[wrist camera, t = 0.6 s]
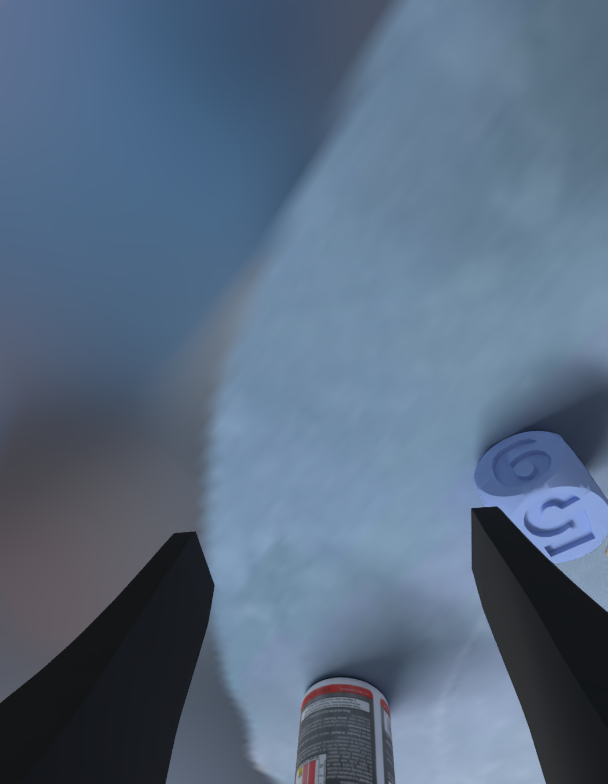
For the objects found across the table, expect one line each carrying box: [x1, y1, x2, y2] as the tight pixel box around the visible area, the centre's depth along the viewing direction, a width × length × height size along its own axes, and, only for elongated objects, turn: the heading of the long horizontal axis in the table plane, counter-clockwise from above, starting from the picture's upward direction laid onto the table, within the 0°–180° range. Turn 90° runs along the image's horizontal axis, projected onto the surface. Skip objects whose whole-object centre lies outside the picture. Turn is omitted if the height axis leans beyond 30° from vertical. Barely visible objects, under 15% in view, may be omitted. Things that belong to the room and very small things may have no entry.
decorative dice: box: [473, 431, 608, 563], centre depth 20 cm, size 4×4×4 cm
